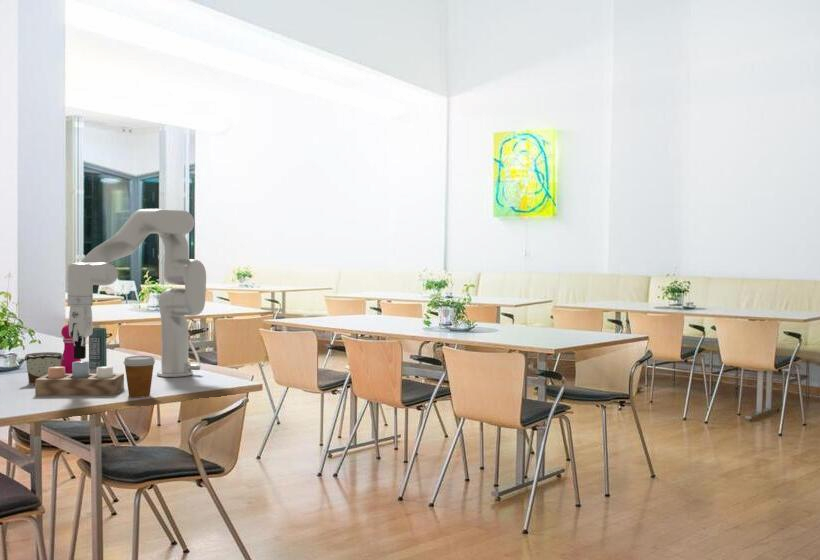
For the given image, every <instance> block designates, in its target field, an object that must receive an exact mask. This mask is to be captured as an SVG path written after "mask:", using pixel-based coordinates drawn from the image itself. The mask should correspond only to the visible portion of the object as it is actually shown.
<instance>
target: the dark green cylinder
mask: <svg viewBox="0 0 820 560" xmlns="http://www.w3.org/2000/svg"><path fill="white" fill-rule="evenodd" d="M107 347H108V346H107V328H106V327H93V333H92V335H90V336H88V362H89V369H96V368H97V367H105V366H107V355H108V353H107V351H108V350H107Z"/></svg>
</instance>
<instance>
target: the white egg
mask: <svg viewBox="0 0 820 560" xmlns="http://www.w3.org/2000/svg"><path fill="white" fill-rule="evenodd" d="M95 374H97V378H112V377H113V374H114V366H105V367H97V368H96V373H95Z"/></svg>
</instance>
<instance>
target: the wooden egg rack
mask: <svg viewBox="0 0 820 560" xmlns="http://www.w3.org/2000/svg"><path fill="white" fill-rule="evenodd" d="M34 386H35V390H34V391H35V392H34V393H35V394H34V395H35V396H115V395H117V394H119V392H121V391H123V390H124V388H125V373H113V377H112V378H97V373H89V377H88V378H72V374H65V377H64V378H48V374H47V375H45V376H42V377H40V378H38V379H35V384H34Z"/></svg>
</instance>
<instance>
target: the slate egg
mask: <svg viewBox="0 0 820 560" xmlns="http://www.w3.org/2000/svg"><path fill="white" fill-rule="evenodd" d="M89 374H90V368H89V360H88V361H87V360H81V361H76V362H72V378H88V377H89Z"/></svg>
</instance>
